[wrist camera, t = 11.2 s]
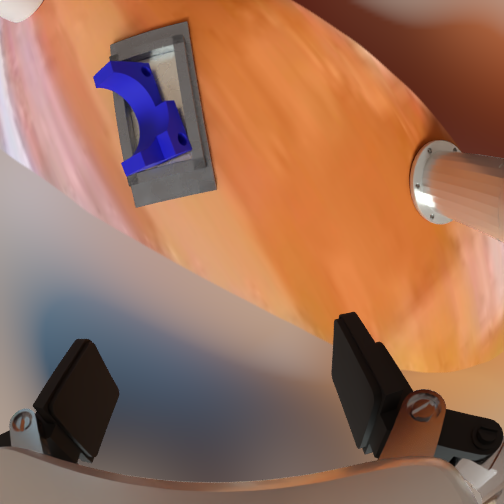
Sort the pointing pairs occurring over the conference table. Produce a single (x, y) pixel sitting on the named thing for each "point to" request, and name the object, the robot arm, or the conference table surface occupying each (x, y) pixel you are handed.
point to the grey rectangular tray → (188, 105)
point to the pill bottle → (18, 9)
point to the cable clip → (146, 114)
